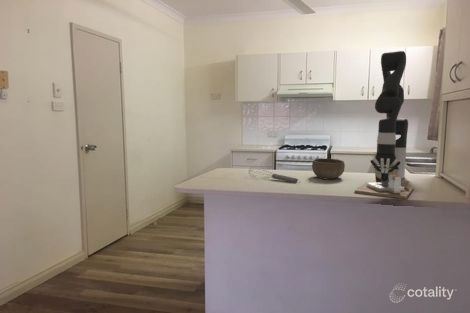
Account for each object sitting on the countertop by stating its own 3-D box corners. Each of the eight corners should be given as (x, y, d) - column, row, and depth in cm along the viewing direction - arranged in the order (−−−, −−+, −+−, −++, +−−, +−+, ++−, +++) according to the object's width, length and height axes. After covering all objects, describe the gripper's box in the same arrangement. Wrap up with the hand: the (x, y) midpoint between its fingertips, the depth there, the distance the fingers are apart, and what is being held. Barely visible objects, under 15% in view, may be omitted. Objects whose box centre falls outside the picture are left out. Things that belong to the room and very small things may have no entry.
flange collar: (366, 186, 174) (367, 170, 173) (389, 185, 176) (390, 169, 175) (384, 193, 158) (385, 176, 157) (409, 193, 160) (410, 175, 159)
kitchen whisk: (297, 184, 186) (297, 172, 185) (245, 177, 207) (245, 166, 206) (303, 183, 190) (303, 171, 190) (252, 176, 212) (252, 165, 211)
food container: (399, 183, 187) (400, 164, 186) (398, 185, 182) (399, 166, 181) (374, 181, 193) (375, 162, 192) (372, 183, 188) (373, 164, 187)
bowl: (347, 180, 195) (348, 162, 194) (315, 180, 195) (315, 162, 194) (339, 174, 212) (340, 158, 211) (309, 174, 212) (309, 158, 211)
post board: (366, 184, 184) (366, 171, 184) (413, 189, 172) (414, 175, 172) (354, 192, 166) (355, 178, 165) (406, 199, 154) (407, 183, 153)
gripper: (402, 142, 159) (400, 180, 162) (371, 141, 165) (369, 178, 167) (402, 144, 153) (400, 183, 155) (369, 142, 158) (367, 181, 161)
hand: (384, 181), depth 161 cm, fingers closed
